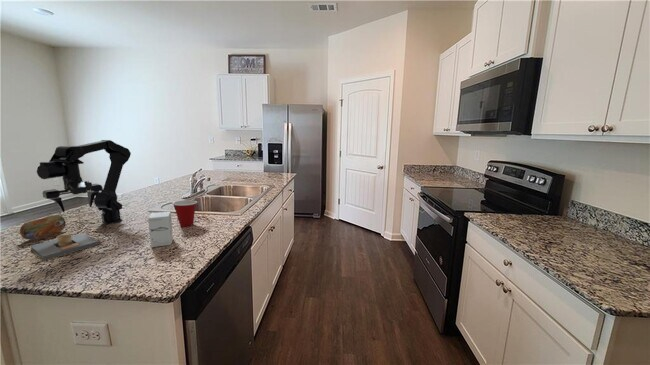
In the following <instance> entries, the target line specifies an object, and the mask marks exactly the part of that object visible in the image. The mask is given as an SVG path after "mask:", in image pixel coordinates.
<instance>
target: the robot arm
mask: <svg viewBox="0 0 650 365" xmlns="http://www.w3.org/2000/svg"><path fill="white" fill-rule="evenodd" d="M103 150H104V151H105V153H107V154H109V156H108V157H109V161H110V165H109V169H108V172H107V176H106V179H105V182H104V185H102V184H98V183H92V180H86V181H83V178H82V175H81V172H80V167H79V166H80V165H83V164H84V161H82V160H80V158H82V157H84V156H85V155H87V154H90V153H91V154H92V153H95V152H98V151H103ZM131 154H132V152H131V151H130V150H129V148H127V147H125V146H123V145H121V144H118V143H117V142H114V141H113V140H112V139H101V140H99V141H94V142H90V143H83V144H79V145H59V146H57V147H55V150H54V153H53V154H52V156H51V157H50V159H49V161H41V162H39V166H37V169H36V174H37V176H38V177H39V178H40V179H41V180H49V179H56V178H62V182H63V188H64V189H61V190H59V189H56V188H54V189H53V188H52V189H45V190H43V191H42V197H43V198H44V199H48V200H51V201H54V202H55V204H56V205H57V206H58V208H59V209H60V210H61V212H62V213H65V207H64V205H63V201H62V197H60V196H61V195H68V194H72V195H79V194H87V201H88V202H87V203H88V206H89V208H92V207H93V203H94V205H95V207H96V208H97V210H98V211H101V214H100V216H101V222H102V223H103V224H106V225H108V224H113V223H114V224H115V223H117V222H121V221H123V219H122V218H121V211H120V210H122V209H123V204H122V203H120V202H119V201H118V194H117V193H116V190H117V187H118V184H119V180H120V177H121V173H122V171H123V168H124V165H125V164H126V163H127V162H128V161H129V160H130V157H131Z"/></svg>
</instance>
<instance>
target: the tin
mask: <svg viewBox="0 0 650 365" xmlns="http://www.w3.org/2000/svg"><path fill="white" fill-rule="evenodd" d="M66 223H67V222H66V220H65V218H64V217H63V216H62V215H57V214H56V215H54V214H53V215H46V216H43V217H40V218H36V219H33V220H29V221H26V222H25V223H23V224H22V225H21V226H20V229H19V234H20V236H21V237H22V238H23V239H25V240H29V241H37V240H41V239H44V238H47V237H50V236H52V235H56V234H58V233H61V232H62V231H63V230H64V229H65V227H66Z"/></svg>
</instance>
